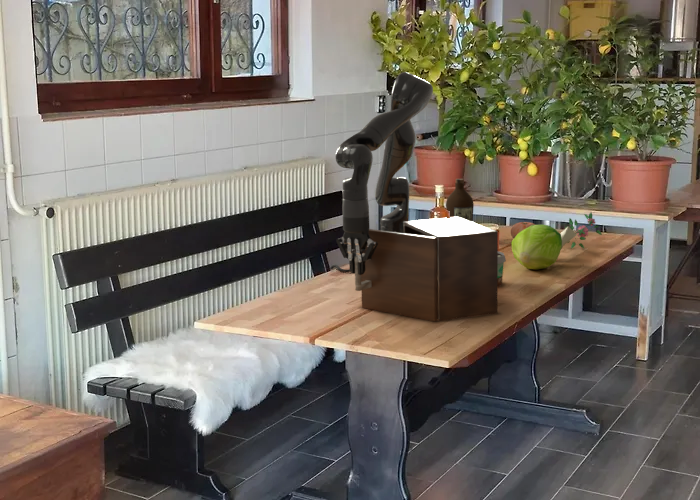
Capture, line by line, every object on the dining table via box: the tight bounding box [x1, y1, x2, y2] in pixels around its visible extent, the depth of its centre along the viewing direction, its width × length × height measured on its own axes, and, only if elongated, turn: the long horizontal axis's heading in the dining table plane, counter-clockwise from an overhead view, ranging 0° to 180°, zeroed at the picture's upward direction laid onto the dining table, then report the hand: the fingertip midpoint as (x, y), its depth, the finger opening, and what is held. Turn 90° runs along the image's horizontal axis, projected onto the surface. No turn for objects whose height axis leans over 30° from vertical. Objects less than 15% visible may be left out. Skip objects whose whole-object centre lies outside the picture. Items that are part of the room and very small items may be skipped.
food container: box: [497, 250, 507, 288], centre depth 298 cm, size 12×6×10 cm, turn 168°
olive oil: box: [445, 178, 475, 222], centre depth 361 cm, size 11×11×25 cm
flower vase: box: [559, 211, 603, 250], centre depth 342 cm, size 12×12×35 cm
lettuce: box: [511, 223, 563, 271], centre depth 317 cm, size 17×20×15 cm
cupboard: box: [403, 217, 499, 322], centre depth 273 cm, size 18×26×24 cm
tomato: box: [510, 221, 536, 240], centre depth 362 cm, size 11×11×8 cm
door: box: [354, 228, 439, 323], centre depth 264 cm, size 7×26×24 cm, turn 51°
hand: (357, 273), depth 268 cm, fingers closed on door, 2 cm apart
